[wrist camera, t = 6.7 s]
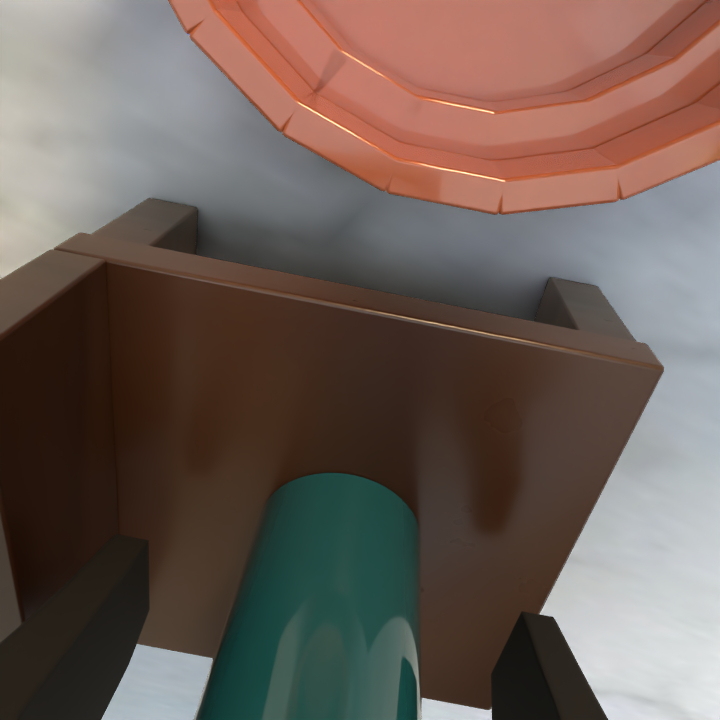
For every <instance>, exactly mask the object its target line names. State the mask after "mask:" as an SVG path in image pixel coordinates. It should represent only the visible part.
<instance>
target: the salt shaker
mask: <svg viewBox="0 0 720 720" xmlns="http://www.w3.org/2000/svg"><path fill="white" fill-rule="evenodd" d="M193 720H422V701H421V535H420V528H419V525H418V522H417V520H416V518H415V516H414V514H413V512H412V511H411V509H410V508H409V507H408V505H407V504H406V503H405V502H404V501H403V500H402V499H401V498H400V497H399V496H398V495H397V494H395V493H394V492H393V491H391V490H390V489H388V488H387V487H385V486H383V485H381V484H379V483H377V482H375V481H373V480H370V479H367V478H364V477H361V476H357V475H353V474H346V473H333V472H328V473H317V474H311V475H306V476H303V477H300V478H297V479H295V480H292V481H290V482H288V483H286V484H285V485H283V486H281V487H280V488H279V489H278V490H277V491H275V492H274V493H273V494H272V495H271V496H270V497H269V498H268V500H267V501H266V503H265V504H264V506H263V508H262V511H261V513H260V516H259V519H258V522H257V525H256V528H255V531H254V535H253V538H252V541H251V544H250V547H249V550H248V553H247V556H246V559H245V562H244V565H243V568H242V571H241V575H240V578H239V581H238V584H237V587H236V590H235V593H234V596H233V599H232V602H231V605H230V608H229V611H228V615H227V618H226V621H225V624H224V627H223V630H222V633H221V636H220V639H219V642H218V645H217V648H216V651H215V655H214V658H213V661H212V664H211V667H210V670H209V673H208V676H207V679H206V682H205V685H204V688H203V691H202V695H201V698H200V701H199V704H198V707H197V710H196V713H195V716H194V719H193Z"/></svg>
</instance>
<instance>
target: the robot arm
mask: <svg viewBox="0 0 720 720" xmlns="http://www.w3.org/2000/svg"><path fill="white" fill-rule="evenodd" d="M149 610H150V606H149V540H145V539H140V538H134V537H129V536H124V535H119V534H117V535H115V536H113V537H111V538H110V539H109V540H108V541H107V542H106V543H105V544H104V545H103V546H102V547H101V549H100V550H99V551H98V552H97V553H96V554H95V555H94V556H93V557H92V558H91V559H90V560H89V561H88V562H87V563H86V564H85V565H84V566H83V567H82V568H81V569H80V570H79V571H78V572H77V573H76V574H75V575H74V576H72V577H71V578H70V579H69V580H68V581H67V582H66V583H65V584H64V585H63V586H62V587H61V588H60V589H59V590H58V591H57V592H56V593H55V594H54V595H53V596H52V597H50V598H49V599H48V600H47V601H46V602H45V603H44V604H43V605H42V606H41V607H40V608H38V609H37V610H36V611H35V612H34V613H33V614H32V615H31V616H30V617H29V618H27V619H26V620H25V621H24V622H23V623H22V624H21V625H20V626H19V627H18V628H16V629H15V630H14V631H13V632H12V633H11V634H10V635H9V636H7V637H6V638H5V639H4V640H3V641H2V642H0V720H101V719H102V717H103V715H104V713H105V711H106V709H107V707H108V705H109V703H110V701H111V699H112V697H113V695H114V693H115V691H116V689H117V687H118V685H119V683H120V681H121V679H122V677H123V675H124V673H125V671H126V669H127V667H128V665H129V662H130V660H131V657H132V654H133V652H134V649H135V647H136V644H137V642H138V639H139V636H140V634H141V631H142V628H143V626H144V623H145V620H146V618H147V615H148V612H149ZM491 698H492V720H608V718H607V717H606V715H605V713H604V711H603V709H602V708H601V706H600V704H599V702H598V700H597V699H596V697H595V695H594V693H593V691H592V689H591V687H590V686H589V684H588V682H587V680H586V678H585V676H584V674H583V672H582V671H581V669H580V667H579V665H578V663H577V661H576V659H575V657H574V655H573V653H572V651H571V649H570V648H569V646H568V644H567V642H566V640H565V638H564V636H563V634H562V632H561V630H560V628H559V626H558V624H557V622H556V621H555V619H554V618H553V617H549V616H544V615H539V614H534V613H528V612H523V611H522V612H521V614H520V616H519V618H518V620H517V622H516V624H515V626H514V628H513V630H512V632H511V634H510V636H509V638H508V640H507V642H506V644H505V646H504V648H503V651H502V653H501V655H500V657H499V659H498V661H497V663H496V665H495V667H494V669H493V671H492V673H491Z"/></svg>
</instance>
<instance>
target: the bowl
mask: <svg viewBox="0 0 720 720" xmlns="http://www.w3.org/2000/svg"><path fill="white" fill-rule="evenodd" d="M168 1H169V3H170V5H171V7H172V9H173V11H174V13H175V14H176V16H177V18H178V20H179V22H180V24H181V25H182V27H183V29H184V31H185V32H186V33H187V34H190V38H191V40H192V41H193V42H194V43H195V44H196V46H197V47H198V48H199V49H200V50H201V51H202V52H203V53H204V54H205V55H206V56H207V57H208V58H209V59H210V60H211V61H212V62H213V63H214V64H215V65H216V67H217V68H218V69H219V70H220V71H221V72H222V73H223V74H224V75H225V76H226V77H227V78H228V79H229V80H230V81H231V82H232V83H233V84H234V85H235V86H236V88H237V89H238V90H239V91H240V92H241V93H242V94H243V95H244V96H245V97H246V98H247V99H248V100H249V101H250V102H251V103H252V104H253V105H254V106H255V107H256V109H257V110H258V111H259V112H260V113H261V114H262V115H263V116H264V117H265V118H266V119H267V120H268V121H269V122H270V123H271V124H272V125H273V126H274V127H275V128H276V130H277V131H279V132H282V134H283V135H284V136H285V137H287V138H288V139H290V140H292V141H294V142H295V143H297V144H299V145H301V146H303V147H304V148H306V149H308V150H310V151H311V152H313V153H315V154H317V155H319V156H320V157H322V158H324V159H326V160H327V161H329V162H331V163H333V164H335V165H336V166H338V167H340V168H342V169H343V170H345V171H347V172H349V173H351V174H352V175H354V176H356V177H358V178H359V179H361V180H363V181H365V182H367V183H368V184H370V185H372V186H374V187H375V188H377V189H379V190H381V191H387V193H389V194H393V195H398V196H403V197H408V198H413V199H418V200H423V201H428V202H433V203H438V204H443V205H448V206H453V207H458V208H463V209H468V210H473V211H478V212H483V213H488V214H493V215H495V214H498V213H499V214H502V215H506V214H515V213H524V212H532V211H541V210H550V209H559V208H568V207H576V206H585V205H594V204H603V203H612V202H616V201H618V200H619V199H620V200H625V199H627V198H629V197H632V196H634V195H637V194H639V193H641V192H644V191H646V190H649V189H651V188H654V187H656V186H658V185H661V184H663V183H666V182H668V181H671V180H673V179H675V178H678V177H680V176H683V175H685V174H687V173H690V172H692V171H695V170H697V169H700V168H702V167H704V166H707V165H709V164H712V163H714V162H717V161H719V160H720V0H168Z"/></svg>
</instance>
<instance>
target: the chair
mask: <svg viewBox="0 0 720 720" xmlns="http://www.w3.org/2000/svg"><path fill="white" fill-rule="evenodd" d="M196 238H197V208H196V207H192V206H187V205H182V204H177V203H172V202H167V201H161V200H156V199H151V198H148V199H146V200H145V201H143V202H142V203H140V204H138V205H137V206H135V207H134V208H132V209H130V210H129V211H127V212H126V213H124V214H122V215H121V216H119V217H118V218H116V219H115V220H113V221H111V222H110V223H108V224H107V225H105V226H103V227H102V228H100V229H99V230H97V231H95V232H94V233H92V234H86V233H78V234H76V235H74V236H73V237H71V238H69V239H68V240H66V241H64V242H63V243H61V244H60V245H58V246H56V247H55V248H54V250H49V251H47V252H45V253H44V254H42V255H40V256H39V257H37V258H35V259H34V260H32V261H30V262H29V263H27V264H25V265H24V266H22V267H20V268H19V269H17V270H15V271H14V272H12V273H10V274H9V275H7V276H5V277H4V278H2V279H0V642H2V641H3V640H4V639H5V638H6V637H7V636H9V635H10V634H11V633H12V632H13V631H14V630H15V629H16V628H18V627H19V626H20V625H21V624H22V623H23V622H24V621H25V620H26V619H27V618H29V617H30V616H31V615H32V614H33V613H34V612H35V611H36V610H37V609H38V608H40V607H41V606H42V605H43V604H44V603H45V602H46V601H47V600H48V599H49V598H50V597H52V596H53V595H54V594H55V593H56V592H57V591H58V590H59V589H60V588H61V587H62V586H63V585H64V584H65V583H66V582H67V581H68V580H69V579H70V578H71V577H72V576H74V575H75V574H76V573H77V572H78V571H79V570H80V569H81V568H82V567H83V566H84V565H85V564H86V563H87V562H88V561H89V560H90V559H91V558H92V557H93V556H94V555H95V554H96V553H97V552H98V551H99V550H100V549H101V547H102V546H103V545H104V544H105V543H106V542H107V541H108V540H109V539H110V538H111V537H113V536H115V535H117V534H119V535H124V536H129V537H134V538H140V539H145V540H149V606H150V610H149V612H148V615H147V618H146V620H145V623H144V626H143V628H142V631H141V634H140V636H139V639H138V642H137V644H140V645H146V646H151V647H156V648H162V649H167V650H172V651H178V652H183V653H188V654H193V655H199V656H204V657H209V658H214V655H215V651H216V648H217V645H218V642H219V639H220V636H221V633H222V630H223V627H224V624H225V621H226V618H227V615H228V611H229V608H230V605H231V602H232V599H233V596H234V593H235V590H236V587H237V584H238V581H239V578H240V575H241V571H242V568H243V565H244V562H245V559H246V556H247V553H248V550H249V547H250V544H251V541H252V538H253V535H254V531H255V528H256V525H257V522H258V519H259V516H260V513H261V511H262V508H263V506H264V504H265V503H266V501H267V500H268V498H269V497H270V496H271V495H272V494H273V493H274V492H275V491H277V490H278V489H279V488H280V487H281V486H283V485H285V484H286V483H288V482H290V481H292V480H295V479H297V478H300V477H303V476H306V475H311V474H317V473H328V472H333V473H346V474H353V475H357V476H361V477H364V478H367V479H370V480H373V481H375V482H377V483H379V484H381V485H383V486H385V487H387V488H388V489H390V490H391V491H393V492H394V493H395V494H397V495H398V496H399V497H400V498H401V499H402V500H403V501H404V502H405V503H406V504H407V505H408V507H409V508H410V509H411V511H412V512H413V514H414V516H415V518H416V520H417V522H418V525H419V528H420V535H421V698H427V699H432V700H437V701H442V702H448V703H453V704H458V705H464V706H469V707H474V708H480V709H485V710H490V709H491V707H492V698H491V673H492V671H493V669H494V667H495V665H496V663H497V661H498V659H499V657H500V655H501V653H502V651H503V648H504V646H505V644H506V642H507V640H508V638H509V636H510V634H511V632H512V630H513V628H514V626H515V624H516V622H517V620H518V618H519V616H520V614H521V612H522V611H523V612H528V613H534V614H540V612H541V610H542V608H543V606H544V604H545V602H546V600H547V598H548V596H549V594H550V592H551V590H552V588H553V586H554V584H555V582H556V581H557V579H558V577H559V575H560V573H561V571H562V569H563V567H564V565H565V563H566V561H567V559H568V557H569V555H570V553H571V551H572V549H573V547H574V545H575V543H576V541H577V540H578V538H579V536H580V534H581V532H582V530H583V528H584V526H585V524H586V522H587V520H588V518H589V516H590V514H591V512H592V510H593V508H594V506H595V504H596V502H597V500H598V499H599V497H600V495H601V493H602V491H603V489H604V487H605V485H606V483H607V481H608V479H609V477H610V475H611V473H612V471H613V469H614V467H615V465H616V463H617V461H618V459H619V458H620V456H621V454H622V452H623V450H624V448H625V446H626V444H627V442H628V440H629V438H630V436H631V434H632V432H633V430H634V428H635V426H636V424H637V422H638V420H639V419H640V417H641V415H642V413H643V411H644V409H645V407H646V405H647V403H648V401H649V399H650V397H651V395H652V393H653V391H654V389H655V387H656V385H657V383H658V381H659V379H660V378H661V376H662V374H663V372H664V367H663V365H662V364H661V363H660V361H659V360H658V358H657V357H656V356H655V354H654V353H653V352H652V350H651V349H650V347H649V346H648V345H647V344H645V343H641V342H636V340H635V339H634V338H633V336H632V335H631V333H630V332H629V330H628V329H627V327H626V326H625V325H624V323H623V322H622V320H621V319H620V317H619V316H618V315H617V313H616V312H615V310H614V309H613V307H612V306H611V305H610V303H609V302H608V300H607V299H606V297H605V296H604V295H603V293H602V292H601V290H600V289H599V287H597V286H593V285H587V284H582V283H577V282H572V281H567V280H562V279H557V278H550V279H549V280H548V283H547V286H546V289H545V291H544V294H543V297H542V300H541V303H540V305H539V308H538V311H537V314H536V316H535V319H534V321H529V320H524V319H519V318H514V317H509V316H503V315H498V314H493V313H488V312H483V311H478V310H473V309H468V308H463V307H458V306H453V305H448V304H442V303H437V302H432V301H427V300H422V299H417V298H412V297H407V296H402V295H397V294H392V293H386V292H381V291H376V290H371V289H366V288H361V287H356V286H351V285H346V284H341V283H336V282H330V281H325V280H320V279H315V278H310V277H305V276H300V275H295V274H290V273H285V272H280V271H274V270H269V269H264V268H259V267H254V266H249V265H244V264H239V263H234V262H229V261H224V260H219V259H213V258H208V257H203V256H198V255H195V254H196Z"/></svg>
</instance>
